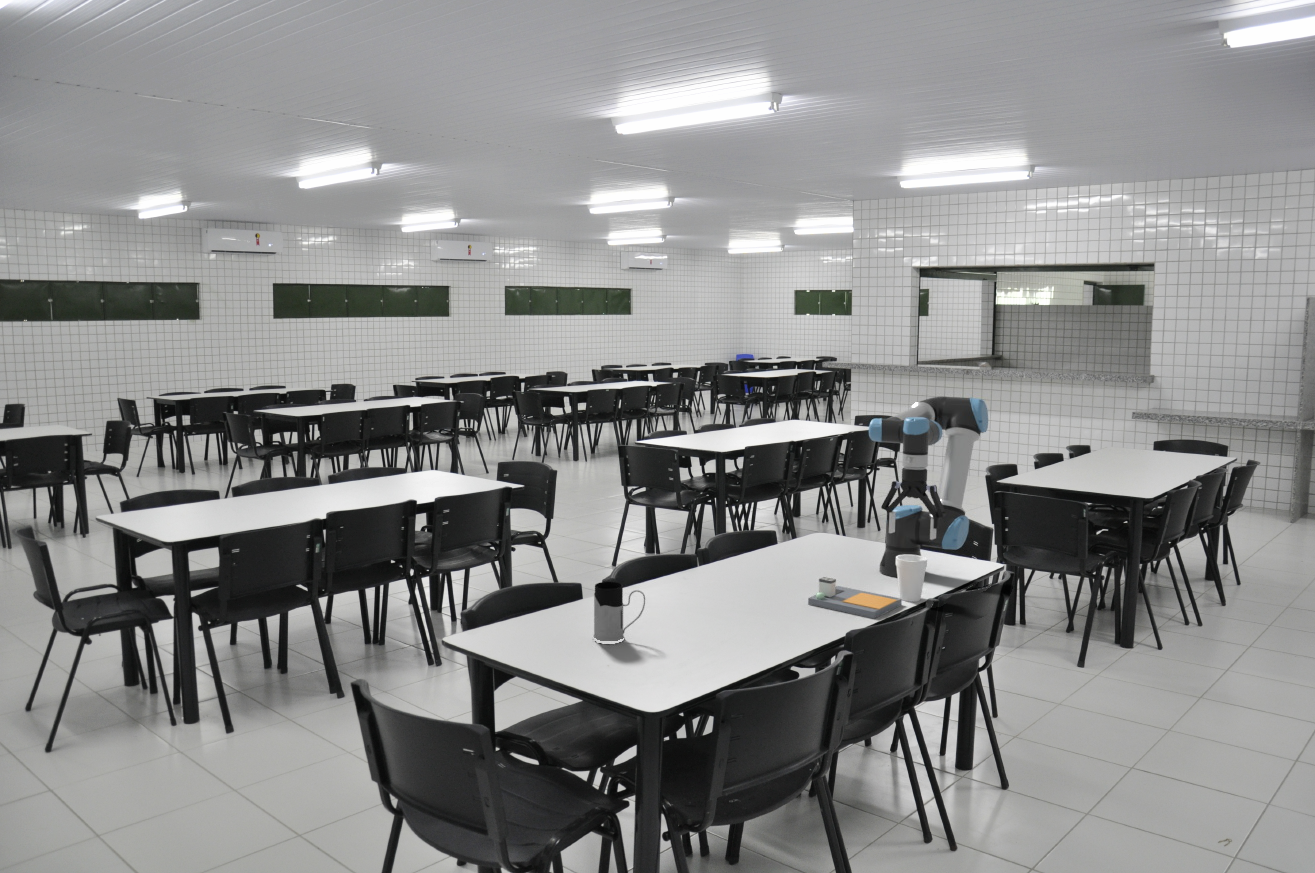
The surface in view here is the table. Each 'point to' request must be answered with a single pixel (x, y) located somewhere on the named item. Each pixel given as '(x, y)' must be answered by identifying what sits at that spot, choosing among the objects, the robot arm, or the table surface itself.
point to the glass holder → (610, 611)
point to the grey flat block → (856, 602)
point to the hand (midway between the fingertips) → (912, 535)
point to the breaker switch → (827, 586)
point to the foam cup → (910, 576)
